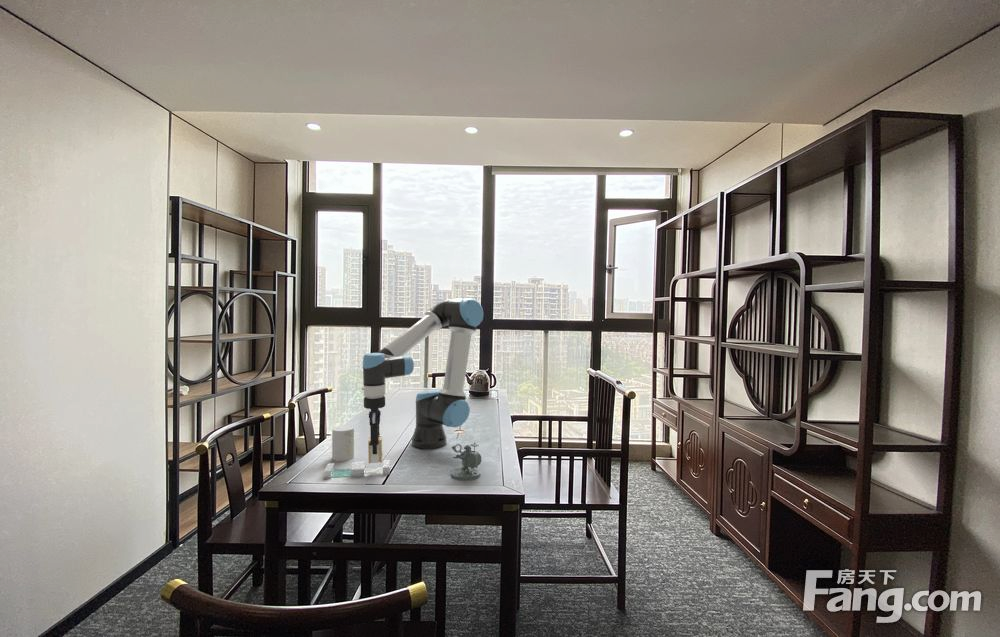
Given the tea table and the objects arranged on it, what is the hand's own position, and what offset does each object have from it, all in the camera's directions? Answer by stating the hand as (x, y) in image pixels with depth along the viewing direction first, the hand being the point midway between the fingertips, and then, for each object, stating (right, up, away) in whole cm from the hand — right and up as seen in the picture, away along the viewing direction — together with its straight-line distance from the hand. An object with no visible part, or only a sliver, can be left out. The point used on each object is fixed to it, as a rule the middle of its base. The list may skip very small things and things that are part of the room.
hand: (375, 459), depth 164 cm
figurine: (+33, -5, -2) cm, 33 cm away
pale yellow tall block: (0, 0, 0) cm, 0 cm away
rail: (-6, -4, -1) cm, 8 cm away
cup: (-17, -4, +14) cm, 22 cm away
